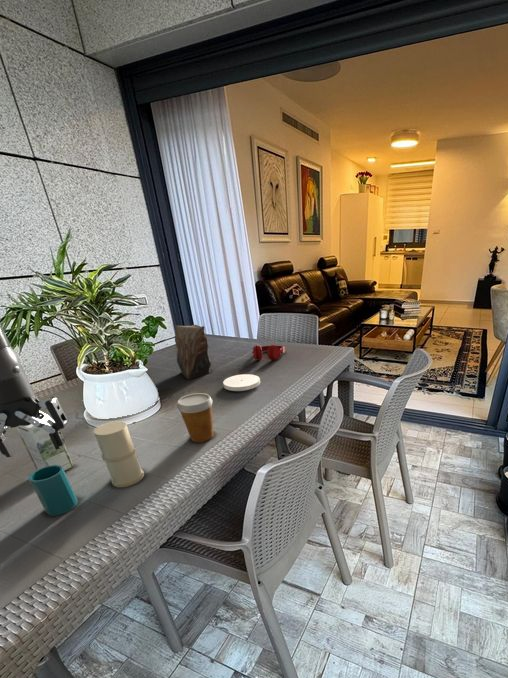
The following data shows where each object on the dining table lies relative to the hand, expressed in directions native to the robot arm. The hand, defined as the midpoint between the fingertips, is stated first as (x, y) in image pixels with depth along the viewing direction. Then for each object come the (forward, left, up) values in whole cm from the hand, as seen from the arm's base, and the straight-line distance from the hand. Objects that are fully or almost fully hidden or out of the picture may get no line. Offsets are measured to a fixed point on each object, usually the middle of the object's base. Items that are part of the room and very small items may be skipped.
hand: (36, 451), depth 70 cm
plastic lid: (+8, +73, -15) cm, 75 cm away
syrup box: (-14, +11, -15) cm, 23 cm away
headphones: (+3, +113, -15) cm, 114 cm away
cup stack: (+7, +12, -14) cm, 20 cm away
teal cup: (0, 0, -14) cm, 14 cm away
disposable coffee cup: (+14, +34, -15) cm, 39 cm away
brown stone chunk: (-20, +83, -15) cm, 86 cm away
